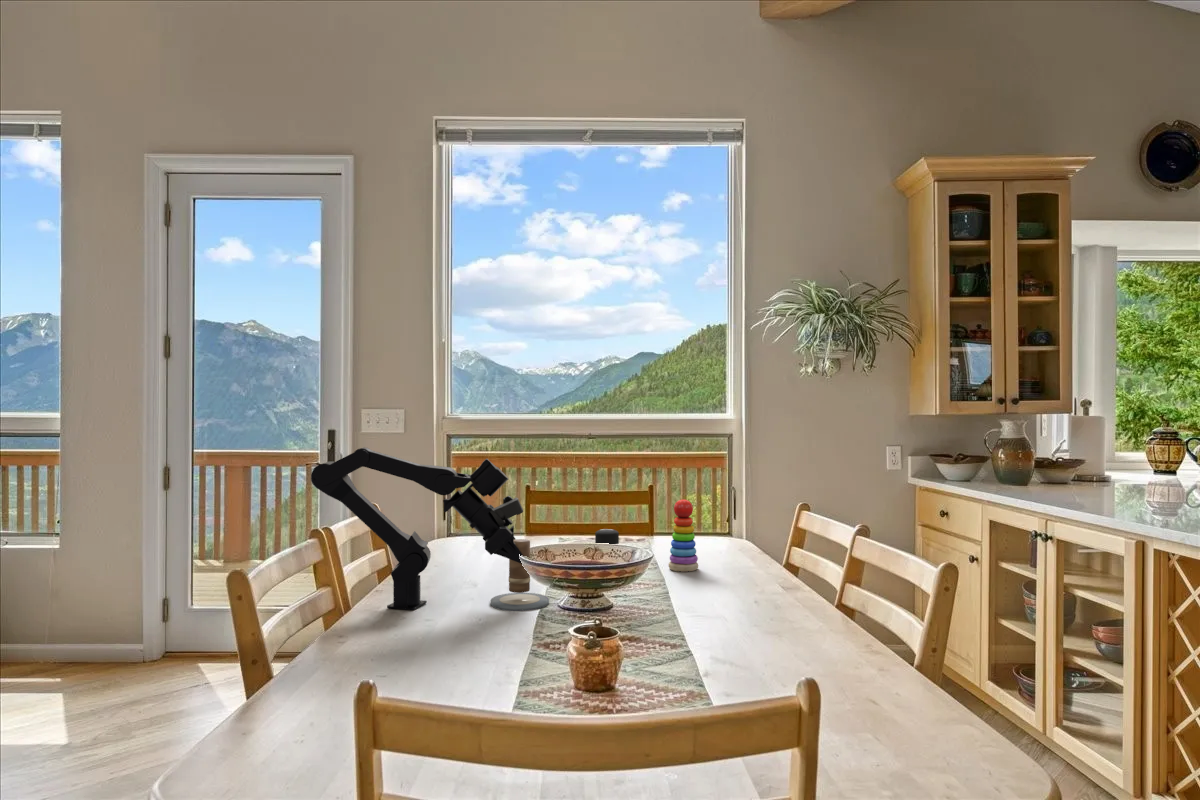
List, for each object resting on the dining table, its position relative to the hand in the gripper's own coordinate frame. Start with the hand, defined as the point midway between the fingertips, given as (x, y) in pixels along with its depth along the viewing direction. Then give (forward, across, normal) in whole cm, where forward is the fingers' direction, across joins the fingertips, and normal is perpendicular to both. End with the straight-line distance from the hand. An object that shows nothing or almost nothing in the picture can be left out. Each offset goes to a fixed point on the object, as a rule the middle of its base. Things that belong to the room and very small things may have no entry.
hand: (525, 560), depth 181 cm
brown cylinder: (+4, 0, +6) cm, 7 cm away
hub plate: (+6, 0, +8) cm, 10 cm away
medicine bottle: (+22, +25, -8) cm, 34 cm away
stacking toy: (+37, +32, -23) cm, 54 cm away
